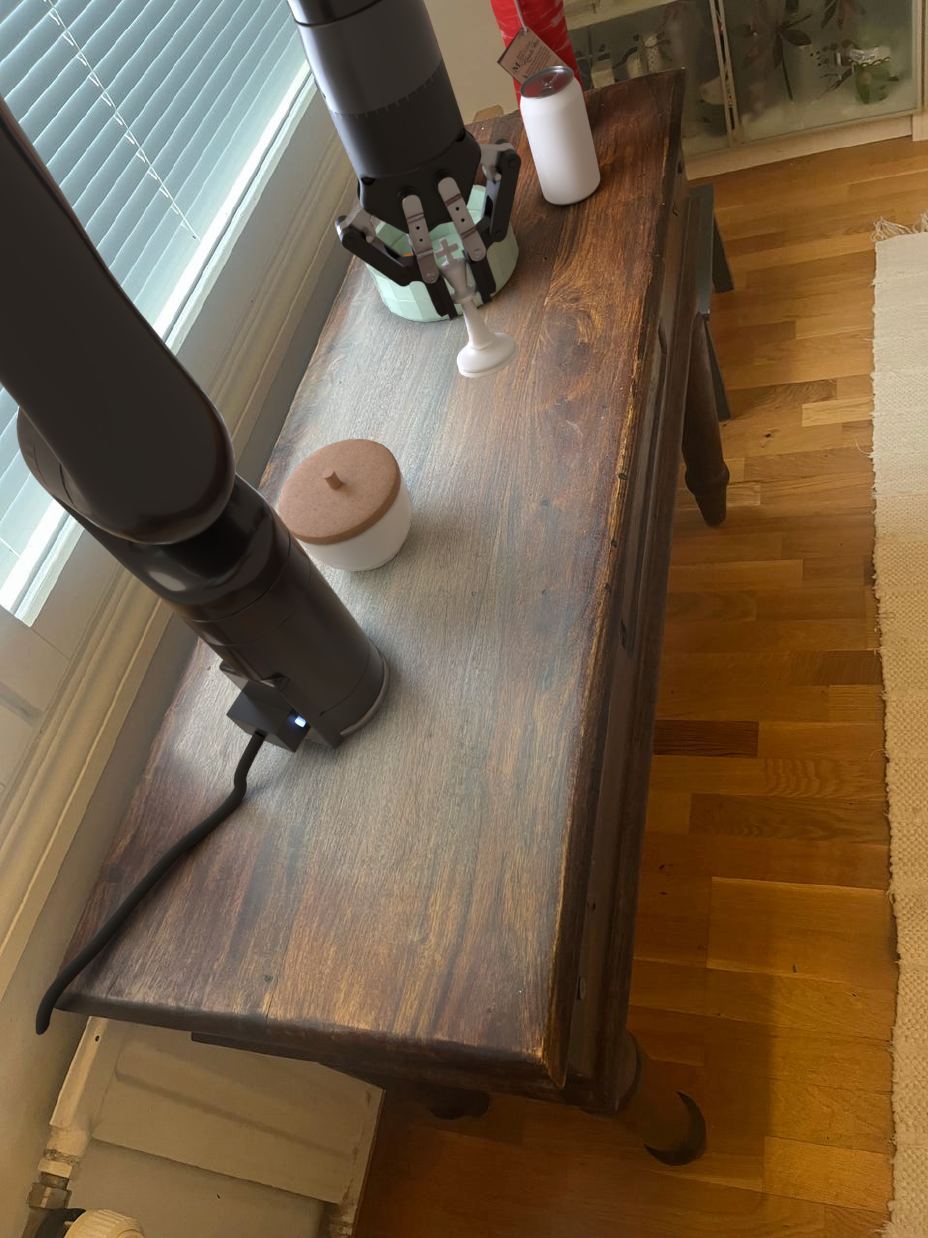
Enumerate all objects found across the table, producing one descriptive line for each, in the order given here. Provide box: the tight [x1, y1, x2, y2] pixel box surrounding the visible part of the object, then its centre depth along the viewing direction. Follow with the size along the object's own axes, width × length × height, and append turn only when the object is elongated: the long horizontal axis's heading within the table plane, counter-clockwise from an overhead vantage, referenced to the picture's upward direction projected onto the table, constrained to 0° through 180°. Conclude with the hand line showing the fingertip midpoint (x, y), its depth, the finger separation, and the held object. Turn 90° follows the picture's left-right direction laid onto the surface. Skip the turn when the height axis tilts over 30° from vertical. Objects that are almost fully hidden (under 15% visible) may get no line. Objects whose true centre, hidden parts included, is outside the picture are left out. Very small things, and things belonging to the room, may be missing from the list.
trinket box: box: [278, 438, 413, 572], centre depth 79 cm, size 11×11×9 cm
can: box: [520, 66, 601, 207], centre depth 98 cm, size 6×6×12 cm
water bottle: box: [489, 0, 588, 129], centre depth 100 cm, size 12×8×25 cm, turn 166°
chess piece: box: [434, 237, 520, 379], centre depth 69 cm, size 5×5×10 cm
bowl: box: [365, 184, 520, 323], centre depth 99 cm, size 16×16×6 cm
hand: (468, 304), depth 69 cm, fingers closed on chess piece
